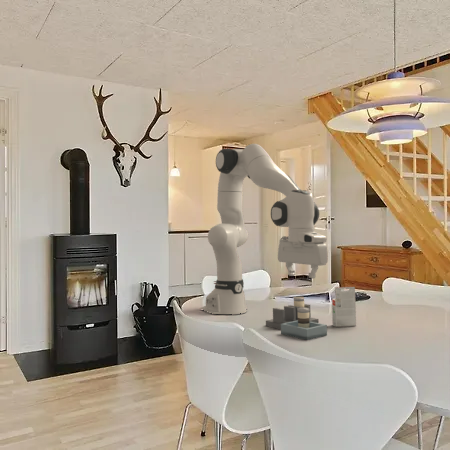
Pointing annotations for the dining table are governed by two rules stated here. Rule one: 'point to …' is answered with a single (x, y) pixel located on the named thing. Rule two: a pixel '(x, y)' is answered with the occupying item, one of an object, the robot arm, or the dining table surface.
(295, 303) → the cylinder
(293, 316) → the fuse holder
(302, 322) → the cylinder
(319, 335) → the parts tray
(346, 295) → the ink box
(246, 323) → the dining table surface
